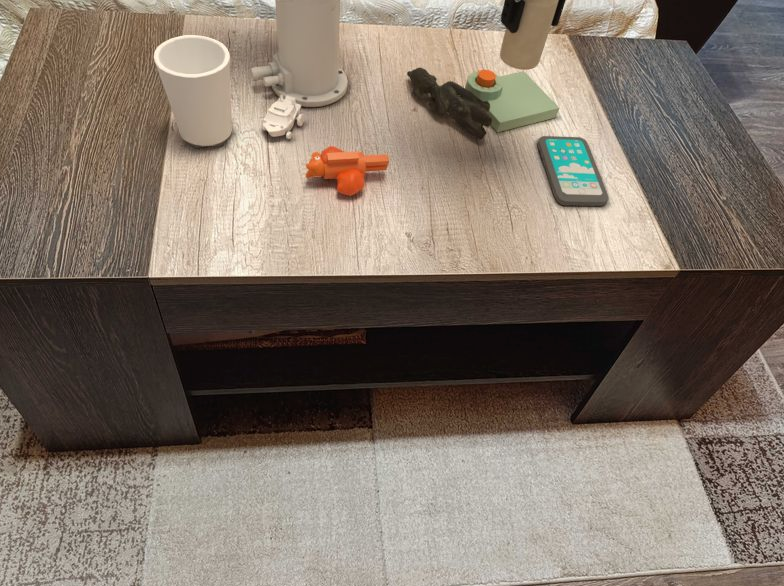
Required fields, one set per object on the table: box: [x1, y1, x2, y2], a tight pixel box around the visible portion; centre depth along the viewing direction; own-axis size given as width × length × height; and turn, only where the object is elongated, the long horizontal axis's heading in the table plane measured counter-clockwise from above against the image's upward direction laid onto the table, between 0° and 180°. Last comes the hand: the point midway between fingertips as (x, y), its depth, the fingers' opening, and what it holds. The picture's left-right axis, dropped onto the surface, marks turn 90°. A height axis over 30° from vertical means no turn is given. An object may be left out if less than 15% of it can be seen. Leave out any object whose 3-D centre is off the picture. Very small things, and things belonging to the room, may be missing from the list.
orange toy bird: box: [305, 145, 390, 197], centre depth 89 cm, size 5×8×12 cm
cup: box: [153, 34, 233, 149], centre depth 88 cm, size 10×10×13 cm
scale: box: [464, 70, 560, 133], centre depth 104 cm, size 13×12×4 cm
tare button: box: [476, 69, 497, 88], centre depth 102 cm, size 3×3×2 cm
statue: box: [406, 66, 492, 140], centre depth 100 cm, size 6×6×20 cm
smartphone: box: [537, 135, 609, 207], centre depth 97 cm, size 9×1×15 cm
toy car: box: [261, 95, 305, 140], centre depth 94 cm, size 5×8×4 cm, turn 160°
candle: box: [499, 0, 559, 71], centre depth 80 cm, size 6×6×10 cm
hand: (529, 22), depth 80 cm, fingers closed on candle, 5 cm apart
